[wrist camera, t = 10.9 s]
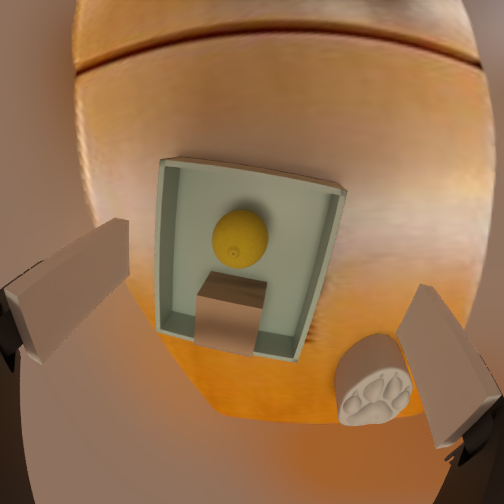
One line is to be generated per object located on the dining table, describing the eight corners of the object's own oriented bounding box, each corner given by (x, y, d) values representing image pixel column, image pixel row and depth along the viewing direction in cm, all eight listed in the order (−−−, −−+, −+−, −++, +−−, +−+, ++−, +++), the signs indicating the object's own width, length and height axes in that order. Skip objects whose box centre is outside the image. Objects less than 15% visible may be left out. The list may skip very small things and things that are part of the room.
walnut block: (211, 270, 34) (196, 295, 29) (267, 281, 34) (262, 309, 28) (206, 316, 37) (193, 344, 31) (257, 327, 37) (252, 357, 31)
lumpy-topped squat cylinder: (330, 393, 41) (333, 435, 33) (344, 334, 36) (353, 379, 28) (387, 390, 40) (397, 428, 32) (410, 332, 35) (429, 372, 27)
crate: (178, 156, 30) (160, 159, 26) (338, 183, 29) (347, 190, 24) (169, 311, 38) (156, 331, 34) (296, 338, 37) (296, 362, 33)
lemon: (228, 252, 33) (212, 285, 26) (216, 207, 31) (194, 229, 24) (275, 244, 32) (271, 277, 25) (265, 197, 30) (257, 217, 23)
